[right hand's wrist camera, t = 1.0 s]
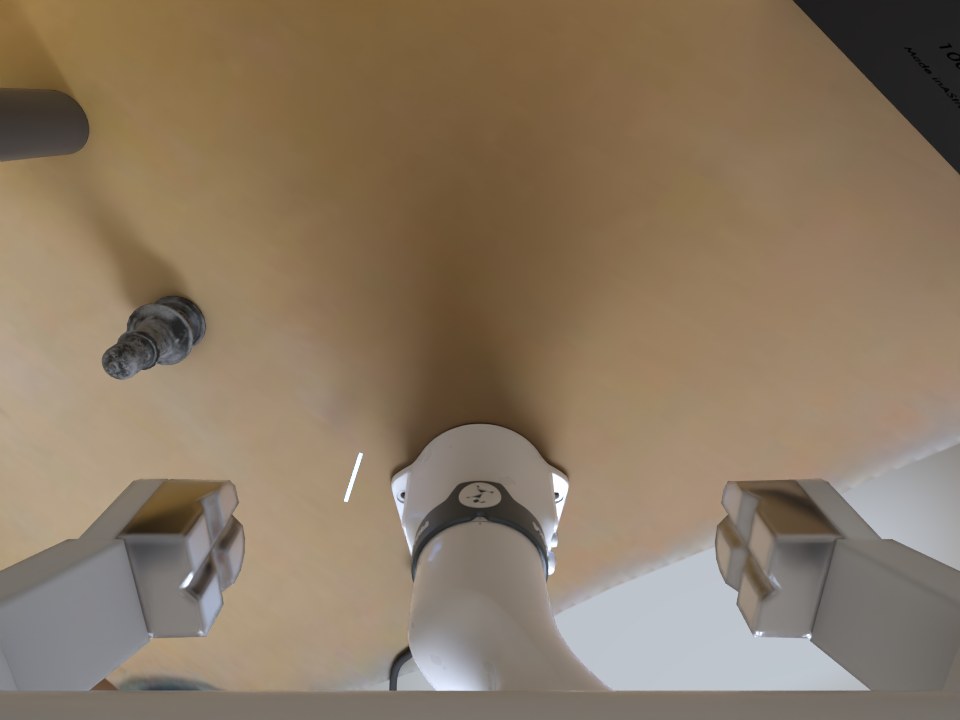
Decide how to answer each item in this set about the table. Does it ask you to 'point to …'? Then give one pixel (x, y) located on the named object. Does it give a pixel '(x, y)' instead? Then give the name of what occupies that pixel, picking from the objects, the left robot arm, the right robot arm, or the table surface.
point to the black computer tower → (904, 58)
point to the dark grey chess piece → (155, 337)
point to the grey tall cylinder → (40, 124)
